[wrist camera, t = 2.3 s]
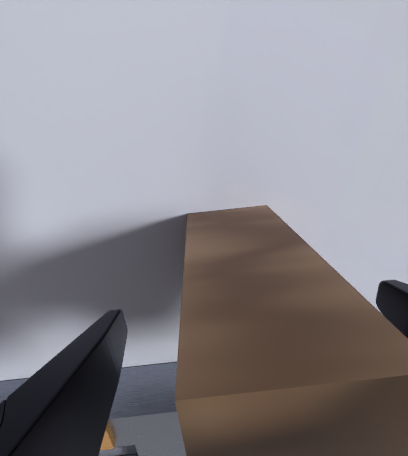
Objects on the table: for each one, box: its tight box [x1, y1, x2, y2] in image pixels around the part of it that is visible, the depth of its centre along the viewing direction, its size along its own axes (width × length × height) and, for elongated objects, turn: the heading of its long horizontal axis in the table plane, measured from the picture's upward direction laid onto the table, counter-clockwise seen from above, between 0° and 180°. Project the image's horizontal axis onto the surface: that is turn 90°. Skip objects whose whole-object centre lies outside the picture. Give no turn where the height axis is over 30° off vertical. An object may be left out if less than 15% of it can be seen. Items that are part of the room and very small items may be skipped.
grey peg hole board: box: [0, 362, 186, 456], centre depth 16 cm, size 20×12×3 cm, turn 96°
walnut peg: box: [175, 205, 408, 456], centre depth 8 cm, size 4×4×9 cm
